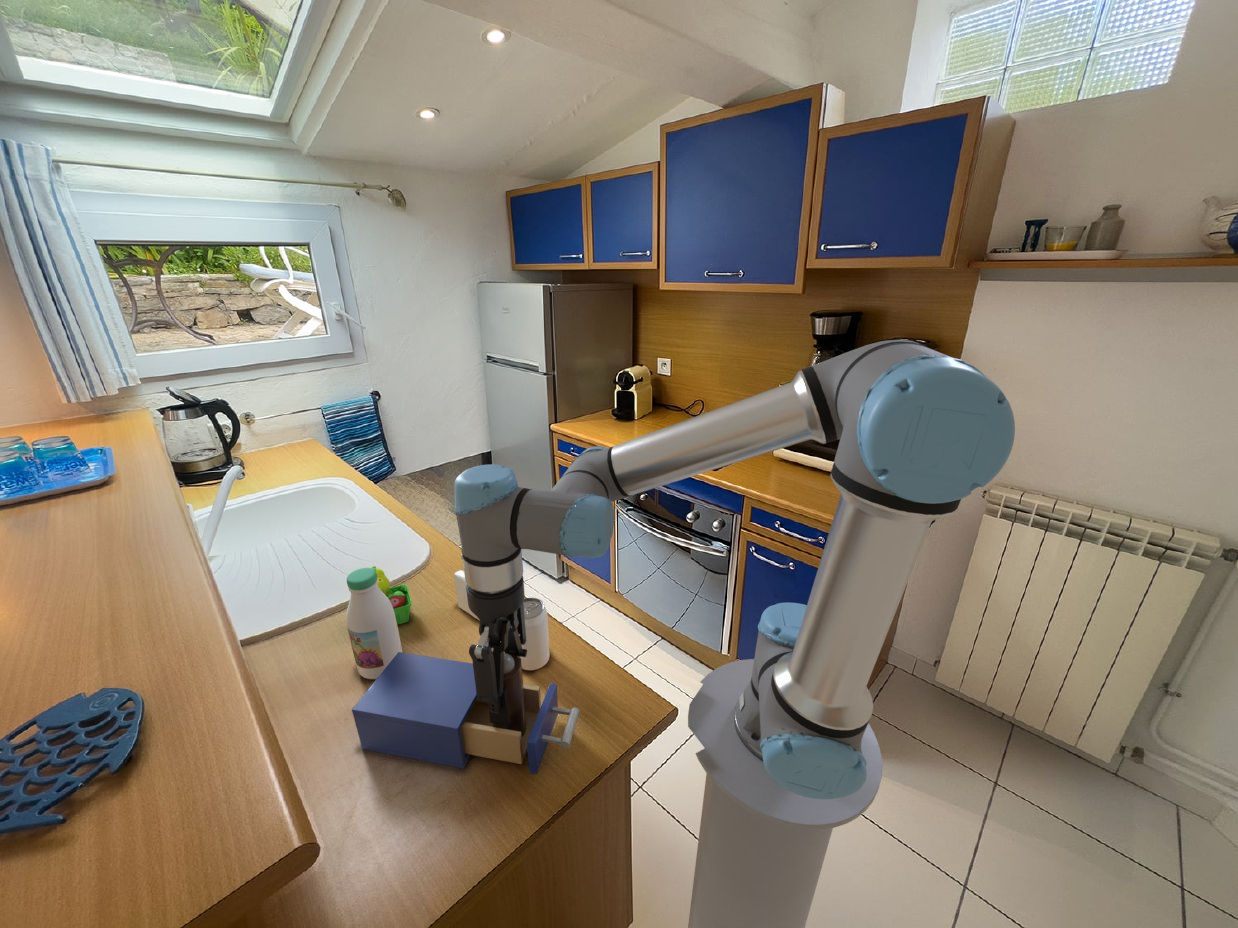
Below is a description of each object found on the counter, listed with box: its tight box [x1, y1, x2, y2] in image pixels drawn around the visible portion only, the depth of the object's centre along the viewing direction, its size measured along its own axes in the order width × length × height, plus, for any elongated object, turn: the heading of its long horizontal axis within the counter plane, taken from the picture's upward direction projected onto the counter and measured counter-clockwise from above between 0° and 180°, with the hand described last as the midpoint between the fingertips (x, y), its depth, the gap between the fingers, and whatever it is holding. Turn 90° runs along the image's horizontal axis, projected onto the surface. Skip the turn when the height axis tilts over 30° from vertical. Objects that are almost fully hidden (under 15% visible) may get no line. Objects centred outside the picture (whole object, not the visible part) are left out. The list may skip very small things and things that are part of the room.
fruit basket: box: [347, 565, 412, 626], centre depth 100 cm, size 11×9×11 cm
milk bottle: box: [345, 567, 404, 680], centre depth 87 cm, size 8×8×20 cm
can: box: [519, 597, 550, 672], centre depth 91 cm, size 6×6×12 cm
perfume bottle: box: [453, 564, 480, 621], centre depth 103 cm, size 8×2×12 cm, turn 52°
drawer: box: [461, 683, 581, 775], centre depth 76 cm, size 20×11×6 cm, turn 80°
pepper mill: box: [492, 652, 526, 737], centre depth 74 cm, size 5×5×15 cm
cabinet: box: [351, 651, 477, 769], centre depth 78 cm, size 17×12×8 cm
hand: (507, 705), depth 75 cm, fingers closed on pepper mill, 5 cm apart
